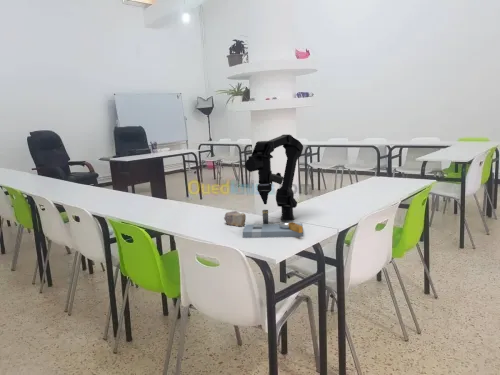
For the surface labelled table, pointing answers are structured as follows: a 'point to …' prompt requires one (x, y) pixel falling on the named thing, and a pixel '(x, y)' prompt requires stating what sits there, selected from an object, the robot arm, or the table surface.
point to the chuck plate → (269, 231)
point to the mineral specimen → (235, 218)
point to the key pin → (265, 216)
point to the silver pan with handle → (290, 226)
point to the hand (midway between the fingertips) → (265, 202)
